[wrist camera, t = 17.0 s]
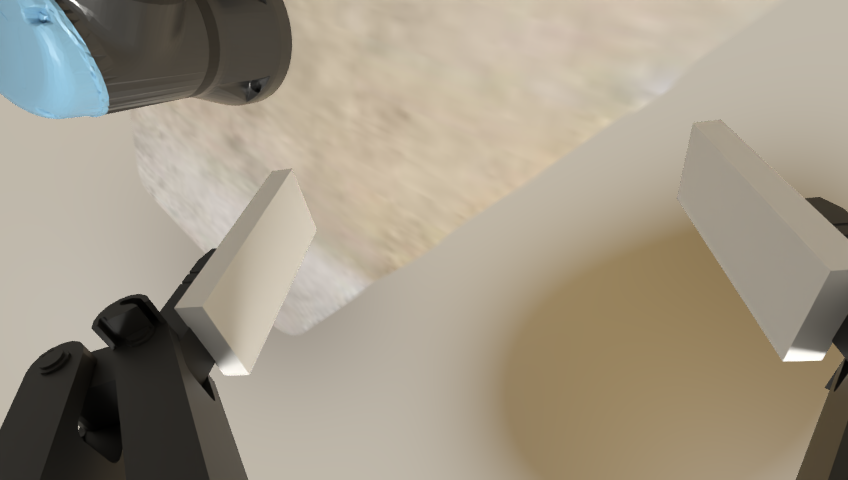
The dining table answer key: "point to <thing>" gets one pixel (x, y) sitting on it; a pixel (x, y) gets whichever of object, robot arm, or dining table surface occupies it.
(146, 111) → the dining table surface
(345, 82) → the dining table surface
